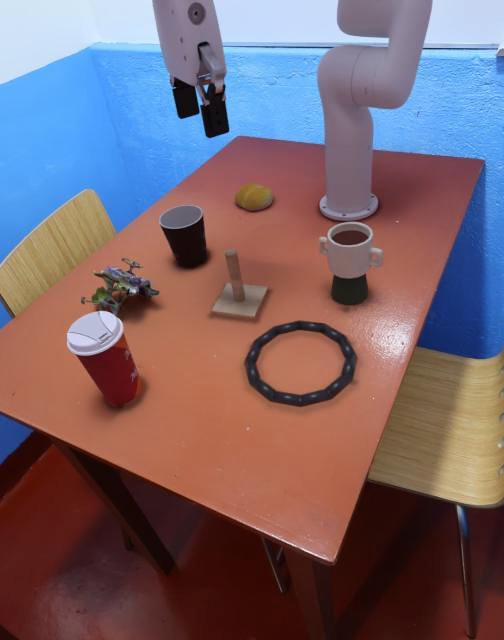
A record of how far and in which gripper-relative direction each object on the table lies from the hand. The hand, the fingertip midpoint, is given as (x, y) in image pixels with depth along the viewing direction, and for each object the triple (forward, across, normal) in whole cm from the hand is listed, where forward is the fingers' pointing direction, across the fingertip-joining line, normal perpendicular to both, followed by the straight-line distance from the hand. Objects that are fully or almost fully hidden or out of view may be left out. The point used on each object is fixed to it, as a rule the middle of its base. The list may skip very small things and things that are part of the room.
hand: (202, 125), depth 64 cm
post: (+32, 0, -1) cm, 32 cm away
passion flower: (+32, +11, +17) cm, 38 cm away
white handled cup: (+32, -11, -17) cm, 37 cm away
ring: (+31, -19, -2) cm, 36 cm away
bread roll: (+31, +30, -20) cm, 48 cm away
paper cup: (+32, -8, +24) cm, 41 cm away
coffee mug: (+32, +19, 0) cm, 37 cm away
